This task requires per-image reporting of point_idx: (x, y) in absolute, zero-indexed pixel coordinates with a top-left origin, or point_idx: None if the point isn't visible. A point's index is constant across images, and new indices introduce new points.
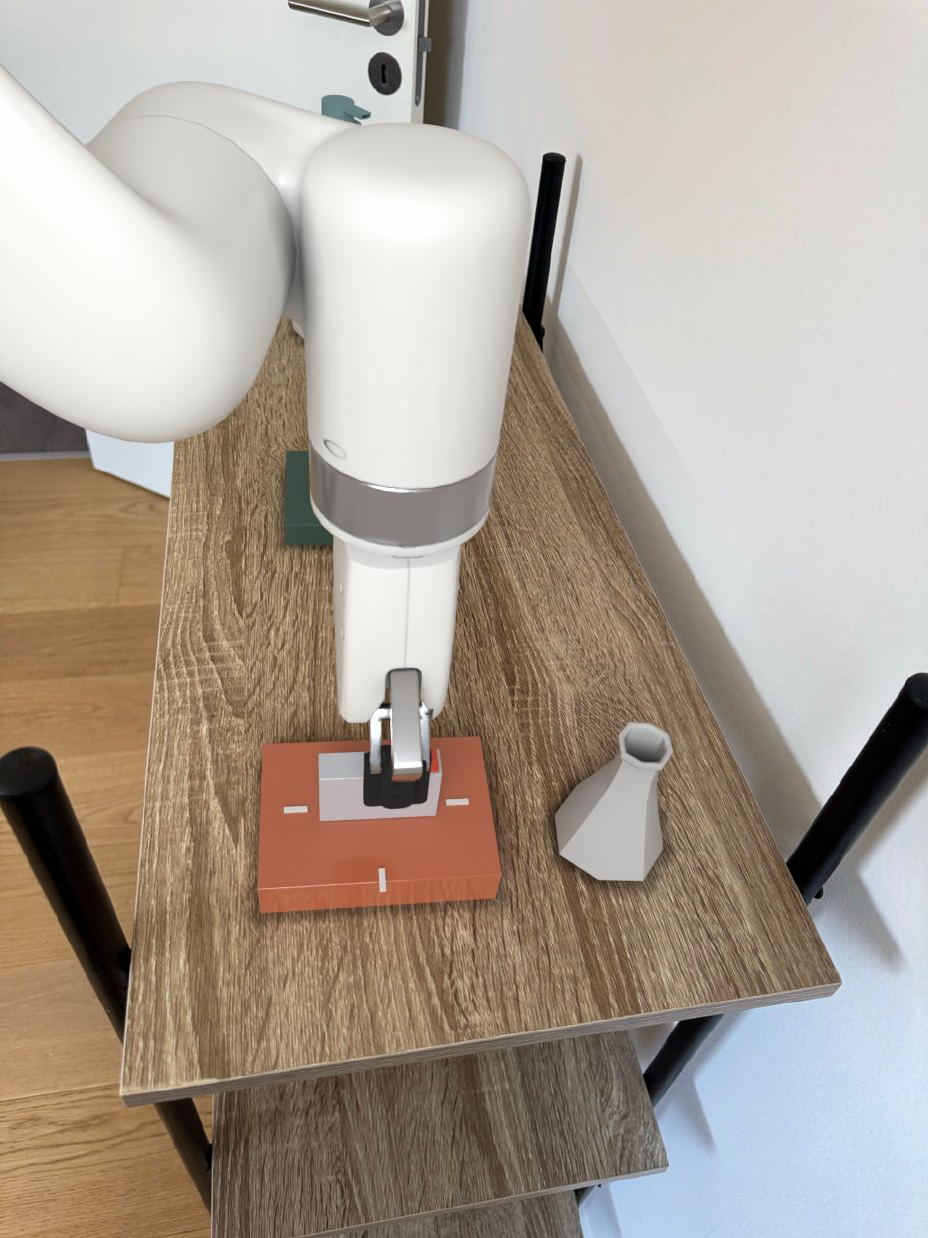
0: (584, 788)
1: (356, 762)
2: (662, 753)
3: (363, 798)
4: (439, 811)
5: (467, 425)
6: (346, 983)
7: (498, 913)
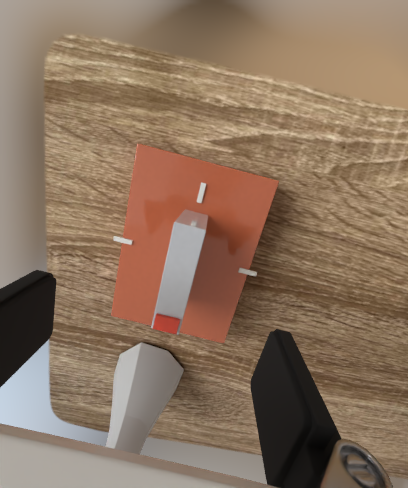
0: (156, 387)
1: (183, 262)
2: None
3: (30, 274)
4: None
5: None
6: (88, 193)
7: None
